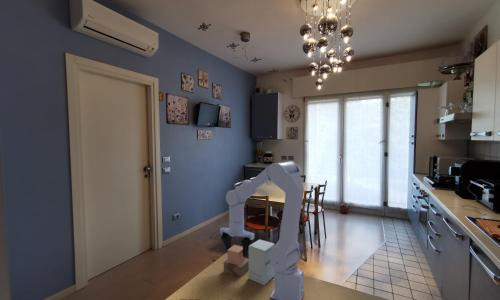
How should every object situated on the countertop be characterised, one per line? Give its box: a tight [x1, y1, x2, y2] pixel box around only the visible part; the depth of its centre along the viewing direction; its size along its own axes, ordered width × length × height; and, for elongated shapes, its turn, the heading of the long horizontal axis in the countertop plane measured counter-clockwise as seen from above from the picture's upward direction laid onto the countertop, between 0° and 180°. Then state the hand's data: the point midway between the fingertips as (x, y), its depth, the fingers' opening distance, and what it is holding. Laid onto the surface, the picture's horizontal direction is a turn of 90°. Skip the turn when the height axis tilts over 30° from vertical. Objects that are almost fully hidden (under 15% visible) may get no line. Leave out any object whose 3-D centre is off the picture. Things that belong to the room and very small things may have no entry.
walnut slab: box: [223, 257, 249, 278], centre depth 93 cm, size 8×7×4 cm
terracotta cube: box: [227, 244, 246, 265], centre depth 93 cm, size 5×5×5 cm
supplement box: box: [248, 239, 276, 286], centre depth 88 cm, size 7×7×13 cm
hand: (236, 253), depth 93 cm, fingers open, 7 cm apart
